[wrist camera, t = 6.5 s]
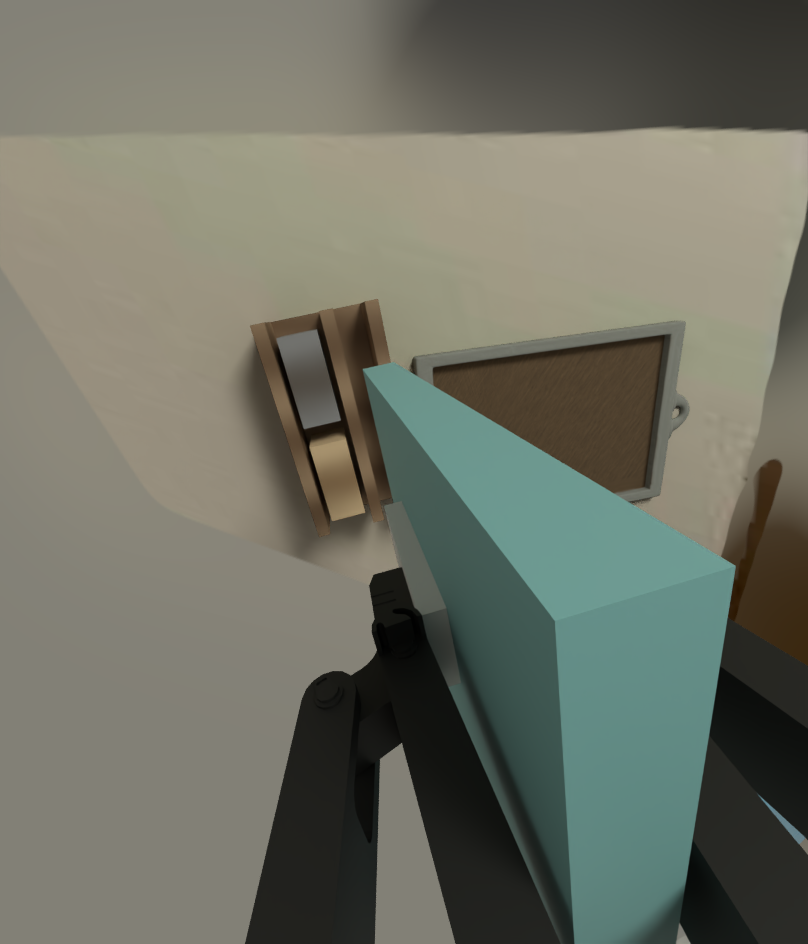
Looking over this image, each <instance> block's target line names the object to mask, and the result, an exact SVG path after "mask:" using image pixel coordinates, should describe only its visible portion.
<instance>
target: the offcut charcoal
mask: <svg viewBox="0 0 808 944" xmlns="http://www.w3.org/2000/svg"><path fill="white" fill-rule="evenodd" d="M276 339H277V343H278V346H279V349H280V353H281V356H282V359H283V362H284V366H285V369H286V372H287V375H288V379H289V382H290V385H291V388H292V392H293V395H294V398H295V402H296V405H297V408H298V411H299V415H300V418H301V421H302V424H303V428H304V429H307V428H311V427H315V426H320V425H324V424H328V423H332V422H336V421H341V418H340V412H339V407H338V403H337V400H336V396H335V392H334V388H333V385H332V381H331V377H330V373H329V369H328V366H327V362H326V358H325V354H324V351H323V347H322V343H321V339H320V335H319V332H318V329H314V330H309V331H305V332H300V333H295V334H291V335H286V336H281V337H279V338H276Z"/></svg>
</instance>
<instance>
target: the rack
mask: <svg viewBox="0 0 808 944" xmlns="http://www.w3.org/2000/svg"><path fill="white" fill-rule="evenodd" d="M250 327H251V330H252V333H253V336H254V340H255V343H256V346H257V349H258V352H259V355H260V358H261V361H262V364H263V367H264V370H265V373H266V376H267V379H268V382H269V385H270V388H271V392H272V395H273V398H274V401H275V404H276V407H277V410H278V413H279V416H280V419H281V422H282V425H283V428H284V431H285V434H286V437H287V440H288V443H289V447H290V450H291V453H292V456H293V459H294V462H295V465H296V468H297V471H298V474H299V477H300V480H301V483H302V486H303V489H304V492H305V495H306V498H307V502H308V505H309V508H310V511H311V514H312V517H313V520H314V523H315V526H316V529H317V532H318V535H319V537H322V536H325V535H329V534H330V513H329V509H328V506H327V503H326V499H325V496H324V493H323V490H322V486H321V483H320V480H319V477H318V473H317V470H316V467H315V464H314V460H313V457H312V454H311V450H310V441H311V435H312V434H316V433H320V432H324V431H328V430H333V429H337V428H341V427H344V430H345V434H346V438H347V441H348V445H349V449H350V453H351V456H352V460H353V464H354V468H355V472H356V475H357V479H358V483H359V487H360V491H361V494H362V499H363V504H364V505H366V504H369V506H370V510H371V514H372V518H373V522H378V521H382V520H384V516H383V512H382V508H381V504H380V501H381V500H385V499H389V498H392V495H391V490H390V486H389V482H388V477H387V473H386V469H385V464H384V460H383V456H382V451H381V447H380V443H379V438H378V434H377V430H376V425H375V421H374V417H373V412H372V408H371V404H370V399H369V395H368V391H367V386H366V382H365V378H364V373H363V369H366V368H370V367H374V366H379V365H383V364H388V363H391V361H390V356H389V351H388V346H387V342H386V337H385V332H384V327H383V322H382V317H381V312H380V307H379V302H378V299H375V300H370V301H365V302H363V303H361V304H356V305H351V306H347V307H342V308H337V309H333V308H332V309H327V310H322V311H319V312H318V313H313V314H308V315H304V316H299V317H294V318H289V319H285V320H280V321H275V322H268V323H260V324H255V325H251V326H250ZM314 329H318V332H319V335H320V339H321V343H322V347H323V351H324V354H325V358H326V362H327V366H328V369H329V373H330V377H331V381H332V385H333V388H334V392H335V396H336V400H337V403H338V407H339V412H340V418H341V421H336V422H332V423H328V424H324V425H320V426H315V427H311V428H307V429H304V428H303V424H302V421H301V418H300V415H299V411H298V408H297V405H296V402H295V398H294V395H293V392H292V388H291V385H290V382H289V379H288V375H287V372H286V369H285V366H284V362H283V359H282V356H281V353H280V349H279V346H278V343H277V339H276V338H279V337H281V336H286V335H291V334H295V333H300V332H305V331H309V330H314Z"/></svg>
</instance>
